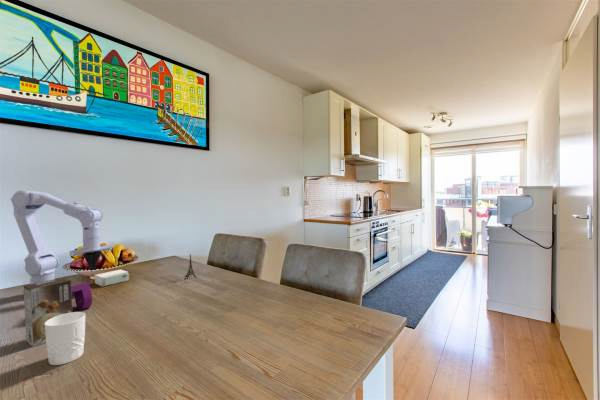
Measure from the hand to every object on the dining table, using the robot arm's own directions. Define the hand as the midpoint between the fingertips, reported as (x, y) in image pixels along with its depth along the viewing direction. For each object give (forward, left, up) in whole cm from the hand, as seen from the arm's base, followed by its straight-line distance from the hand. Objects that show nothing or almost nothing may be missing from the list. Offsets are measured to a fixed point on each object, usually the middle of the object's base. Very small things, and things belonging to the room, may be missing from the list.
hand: (92, 269), depth 115 cm
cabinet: (-10, +11, -10) cm, 18 cm away
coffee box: (+33, -22, -10) cm, 41 cm away
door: (-5, +11, -10) cm, 16 cm away
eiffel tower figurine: (+17, +35, -11) cm, 41 cm away
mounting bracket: (+11, -12, -10) cm, 19 cm away
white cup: (+50, -23, -10) cm, 56 cm away
